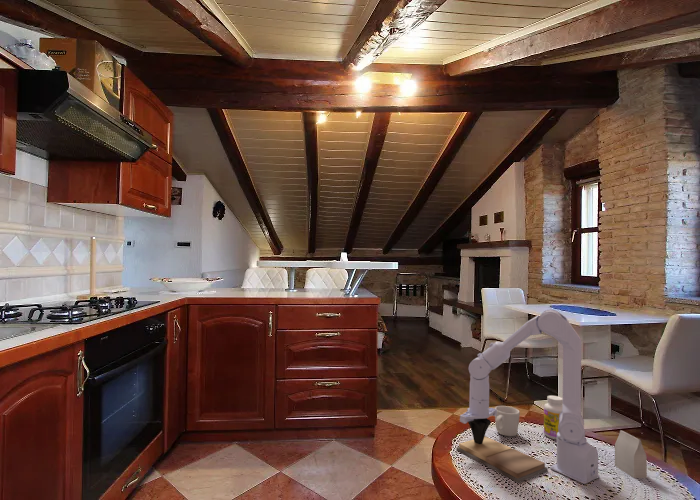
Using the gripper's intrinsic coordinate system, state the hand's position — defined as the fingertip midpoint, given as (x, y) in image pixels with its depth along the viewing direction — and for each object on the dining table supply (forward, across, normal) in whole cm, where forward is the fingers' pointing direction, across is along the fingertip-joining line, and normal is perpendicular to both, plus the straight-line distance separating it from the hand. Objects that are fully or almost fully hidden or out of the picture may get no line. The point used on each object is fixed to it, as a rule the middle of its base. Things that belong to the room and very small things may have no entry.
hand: (478, 442), depth 120 cm
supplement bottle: (+2, -31, +6) cm, 32 cm away
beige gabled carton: (+2, -27, +30) cm, 40 cm away
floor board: (+2, 0, +8) cm, 8 cm away
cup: (+2, -17, -3) cm, 18 cm away
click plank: (+1, 0, +3) cm, 3 cm away
